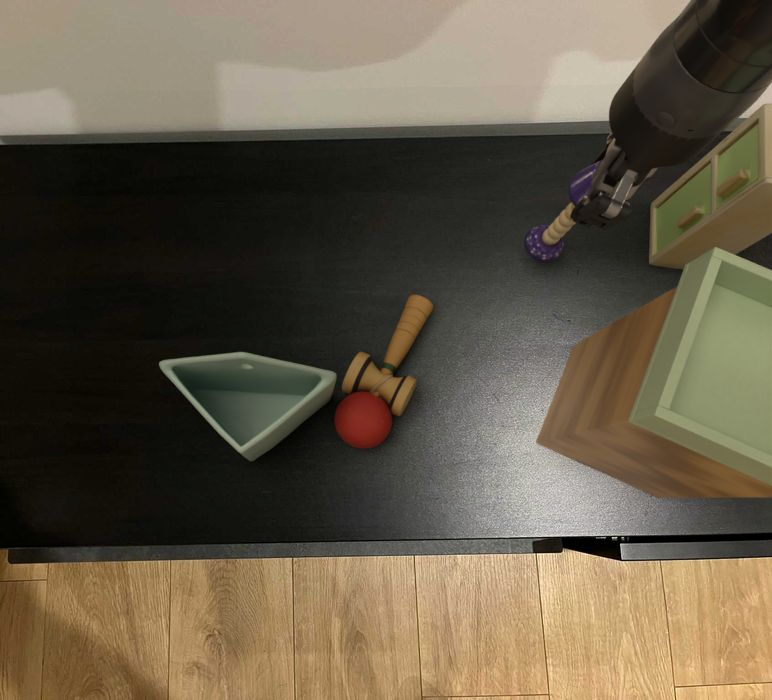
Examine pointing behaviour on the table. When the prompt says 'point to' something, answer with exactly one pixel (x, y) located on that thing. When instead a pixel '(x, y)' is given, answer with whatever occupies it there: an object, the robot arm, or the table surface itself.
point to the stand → (612, 411)
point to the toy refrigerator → (718, 198)
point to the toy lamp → (559, 221)
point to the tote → (715, 365)
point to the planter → (251, 396)
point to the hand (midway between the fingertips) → (591, 194)
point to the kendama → (380, 384)
